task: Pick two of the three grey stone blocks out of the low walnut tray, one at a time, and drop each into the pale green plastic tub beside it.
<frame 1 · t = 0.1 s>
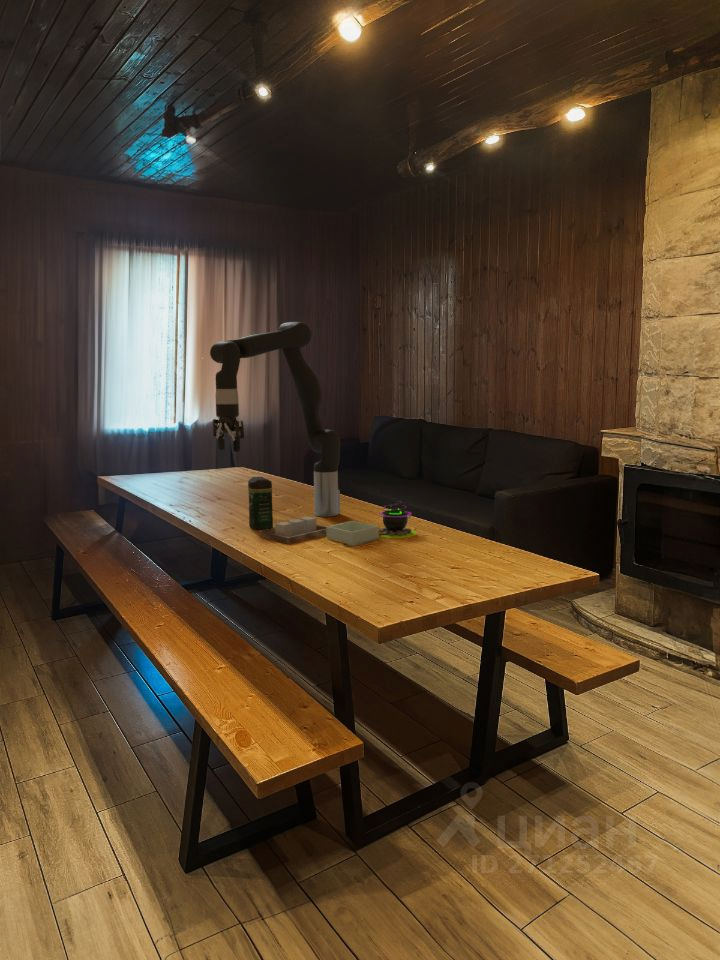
hand: (228, 450, 239), 29 cm above the table, fingers open, 8 cm apart
stone b: (296, 535, 239), point 1 cm above the table, touching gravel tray
toy cauldron: (395, 534, 244), on the table
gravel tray: (296, 536, 239), on the table
dump tub: (352, 539, 235), on the table
stone c: (283, 538, 235), point 1 cm above the table, touching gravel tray
stone a: (308, 532, 243), point 1 cm above the table, touching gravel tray
coffee jar: (261, 529, 253), on the table
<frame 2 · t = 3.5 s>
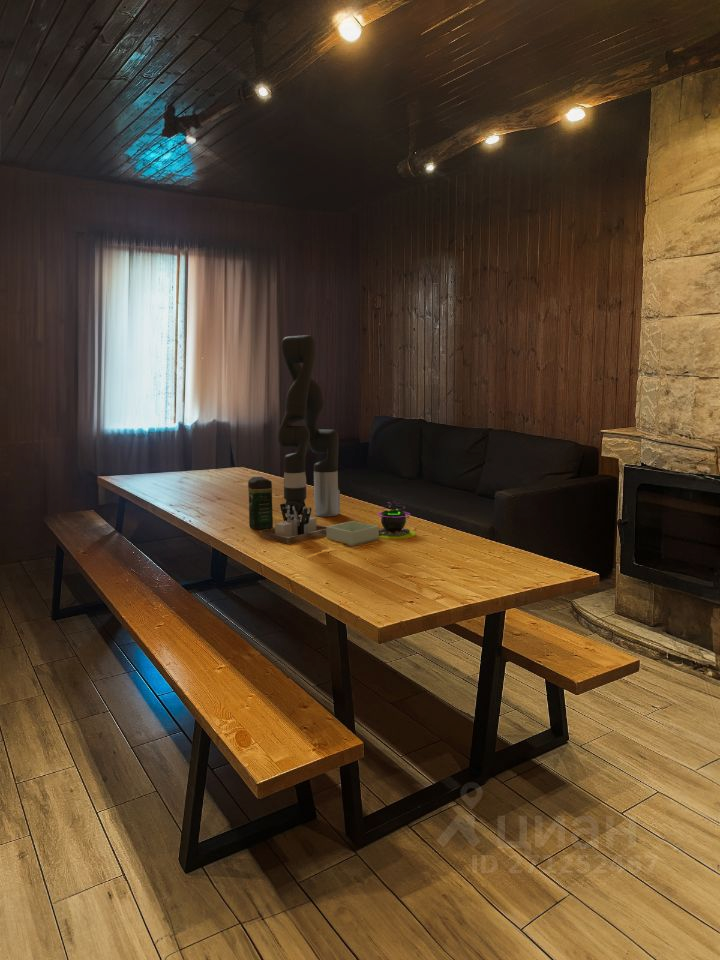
hand: (296, 534, 239), 1 cm above the table, fingers closed on stone b, 4 cm apart
stone b: (296, 535, 239), point 1 cm above the table, touching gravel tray, gripper
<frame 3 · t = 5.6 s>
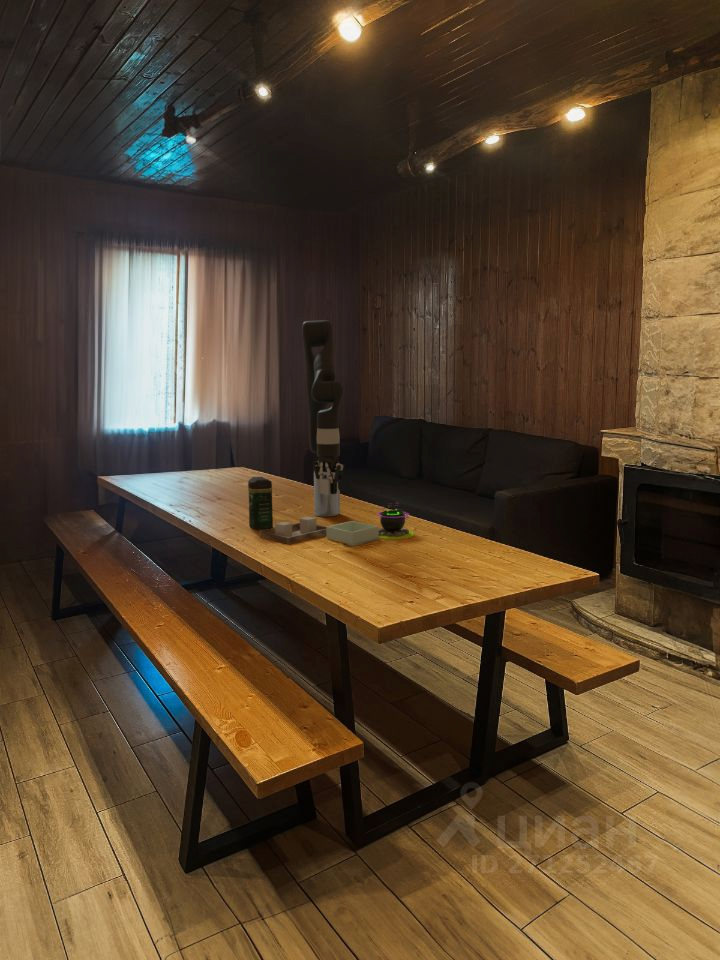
hand: (328, 492, 236), 15 cm above the table, fingers closed on stone b, 4 cm apart
stone b: (328, 493, 236), point 15 cm above the table, touching gripper
when the fingers open (6 cm above the table, at t = 7.7 s): stone b drops 5 cm, resting on dump tub.
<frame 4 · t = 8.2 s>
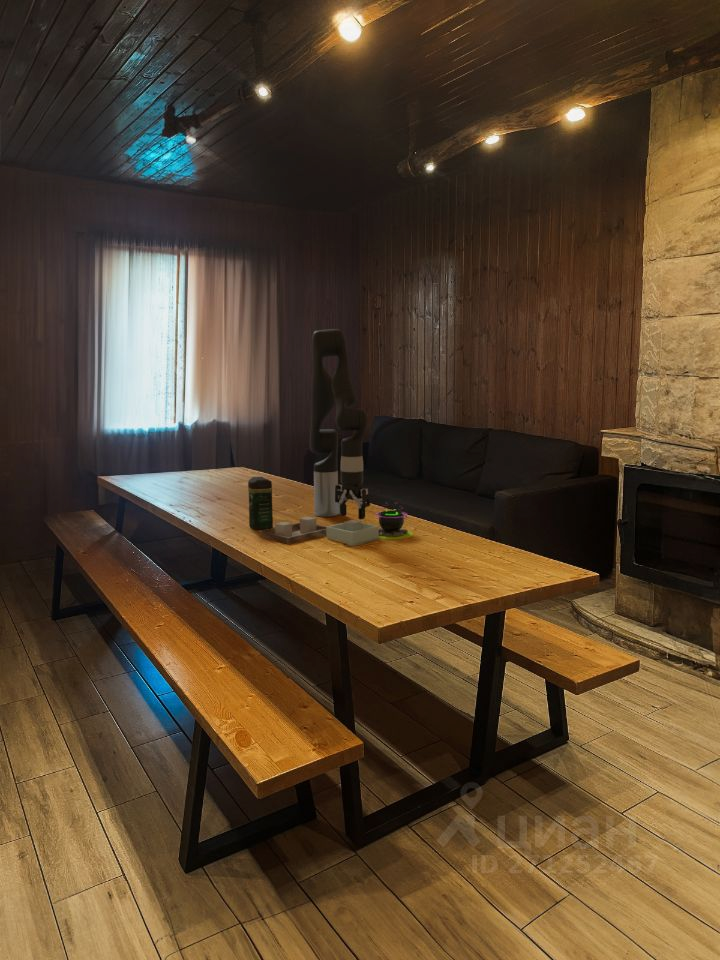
hand: (352, 517, 237), 7 cm above the table, fingers open, 8 cm apart
stone b: (352, 536, 238), point 1 cm above the table, touching dump tub
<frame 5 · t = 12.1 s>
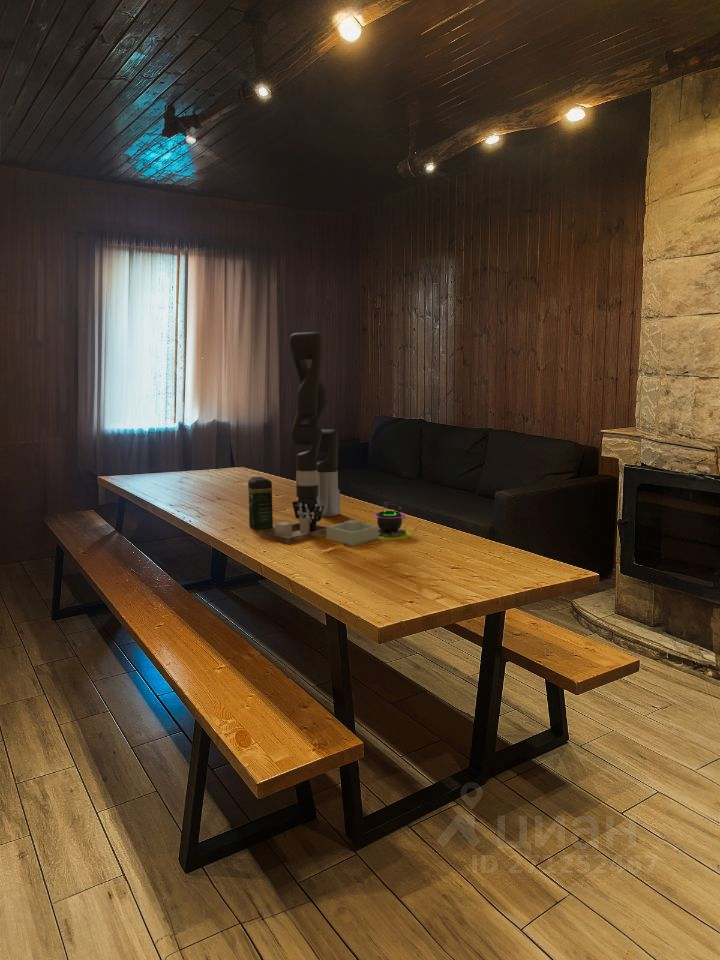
hand: (308, 532, 243), 1 cm above the table, fingers closed on stone a, 4 cm apart
stone a: (308, 532, 243), point 1 cm above the table, touching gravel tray, gripper
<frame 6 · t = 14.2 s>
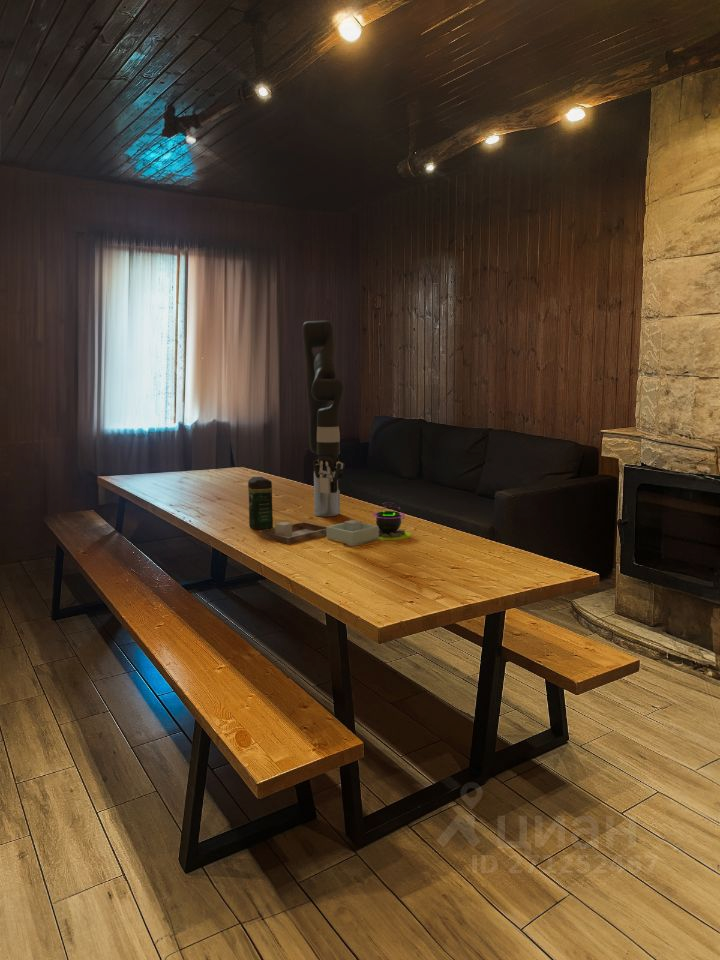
hand: (328, 491, 234), 16 cm above the table, fingers closed on stone a, 4 cm apart
stone a: (328, 492, 234), point 16 cm above the table, touching gripper
when the fingers open (7 cm above the table, at t = 16.3 s): stone a drops 6 cm, resting on dump tub.
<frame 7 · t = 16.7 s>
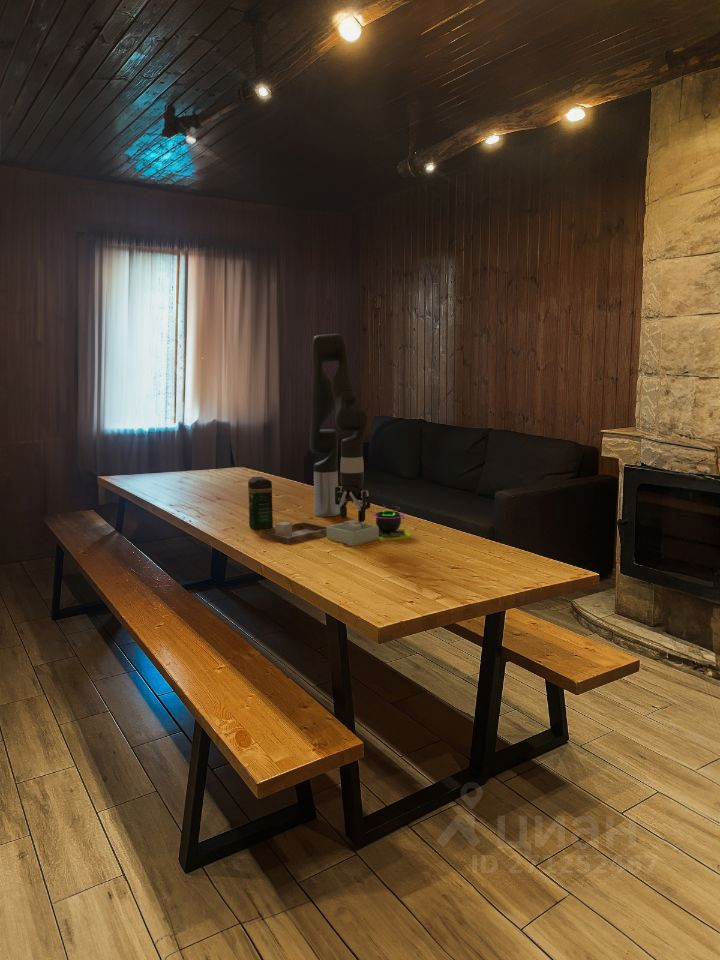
hand: (352, 519, 231), 7 cm above the table, fingers open, 7 cm apart
stone a: (352, 539, 232), point 1 cm above the table, touching dump tub
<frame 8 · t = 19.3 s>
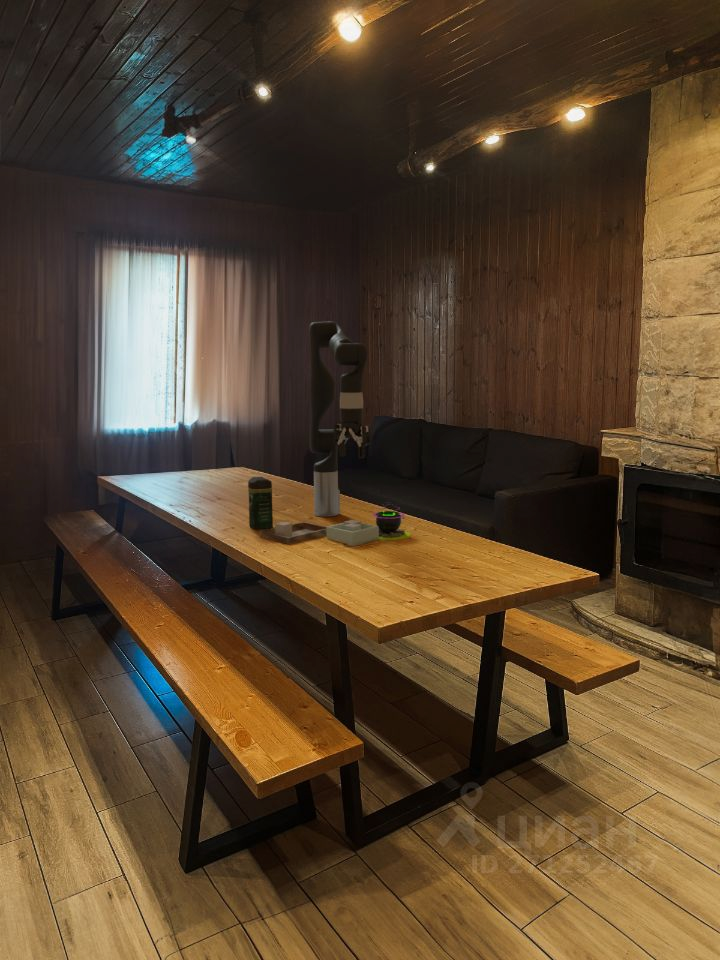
hand: (351, 457, 228), 28 cm above the table, fingers open, 8 cm apart
at the end: stone b inside the target area on the dump tub (2.8 cm from its centre), point 0.6 cm above the dump tub's base; stone a inside the target area on the dump tub (2.5 cm from its centre), point 0.6 cm above the dump tub's base; stone c inside the target area on the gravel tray (5.5 cm from its centre), point 0.6 cm above the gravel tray's base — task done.
